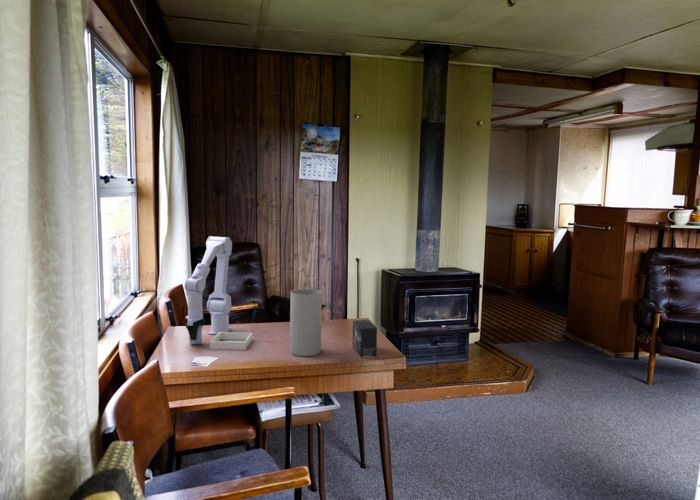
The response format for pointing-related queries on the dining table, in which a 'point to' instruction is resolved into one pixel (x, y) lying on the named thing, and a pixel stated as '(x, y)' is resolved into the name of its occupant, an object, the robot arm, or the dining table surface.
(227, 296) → the robot arm
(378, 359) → the dining table surface
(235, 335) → the grey shallow square tray
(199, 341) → the cylinder
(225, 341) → the pad
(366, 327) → the small box
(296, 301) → the cylinder vase
